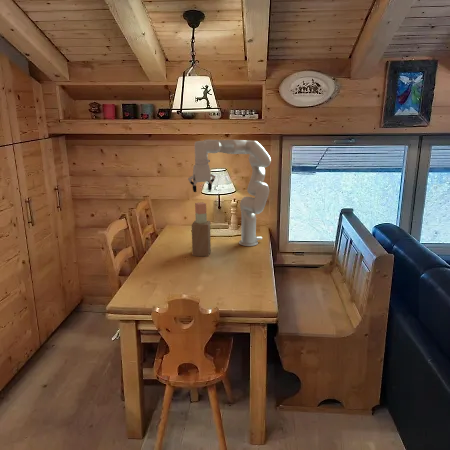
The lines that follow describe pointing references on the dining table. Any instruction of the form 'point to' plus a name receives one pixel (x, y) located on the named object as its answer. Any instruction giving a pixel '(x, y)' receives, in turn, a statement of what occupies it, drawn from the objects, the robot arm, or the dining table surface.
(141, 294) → the dining table surface
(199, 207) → the brick terracotta
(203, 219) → the brick sage
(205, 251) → the wooden block
